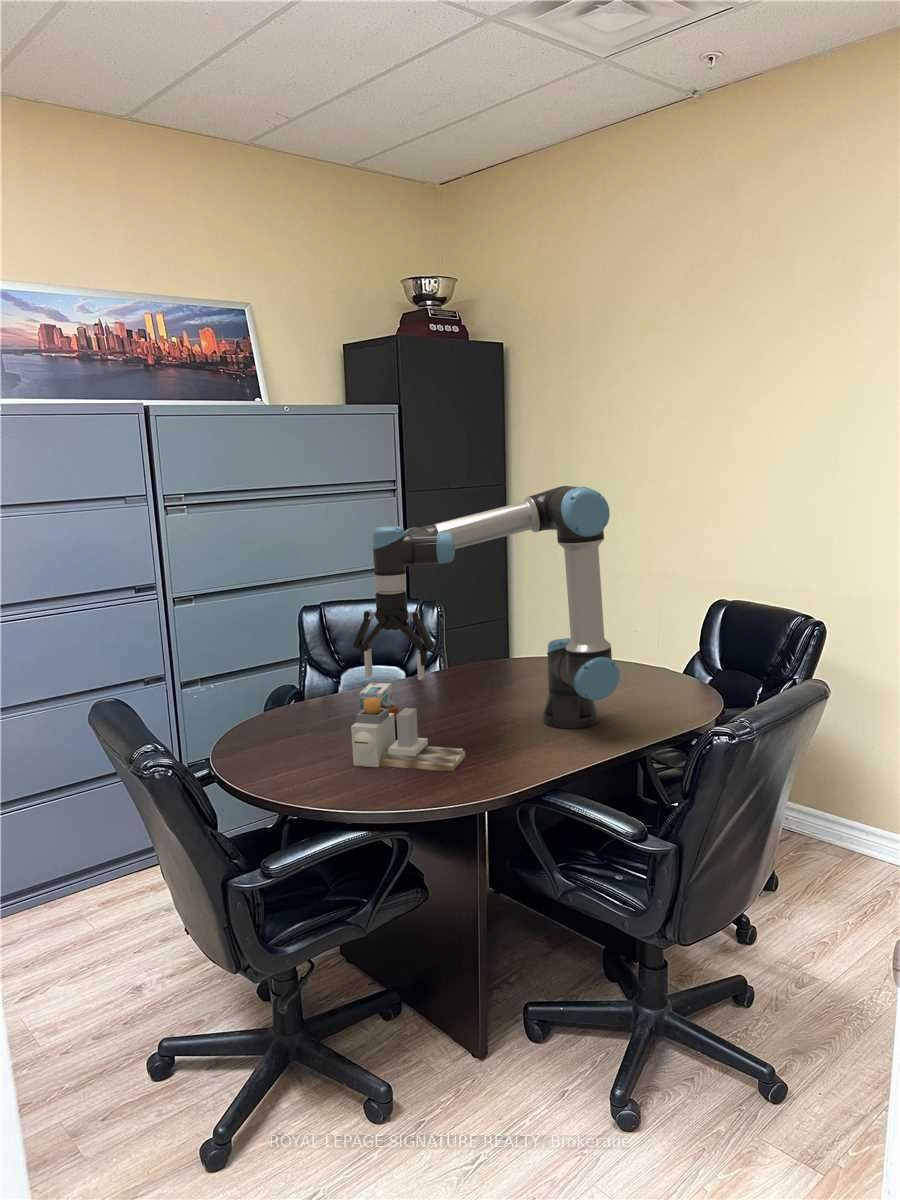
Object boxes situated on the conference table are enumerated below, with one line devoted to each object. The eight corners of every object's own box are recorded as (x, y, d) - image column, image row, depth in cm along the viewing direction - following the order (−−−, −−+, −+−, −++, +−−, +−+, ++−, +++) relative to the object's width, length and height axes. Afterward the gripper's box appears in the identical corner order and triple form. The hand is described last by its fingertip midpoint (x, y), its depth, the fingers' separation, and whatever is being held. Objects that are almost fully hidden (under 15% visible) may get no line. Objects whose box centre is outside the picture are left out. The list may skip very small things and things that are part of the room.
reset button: (383, 709, 228) (382, 697, 227) (376, 714, 224) (376, 702, 224) (368, 708, 229) (367, 697, 229) (361, 713, 225) (361, 701, 225)
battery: (387, 743, 240) (385, 706, 238) (372, 737, 245) (370, 701, 243) (400, 739, 242) (398, 703, 241) (386, 733, 248) (384, 698, 246)
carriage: (427, 743, 228) (426, 707, 227) (415, 755, 220) (413, 718, 218) (401, 742, 231) (399, 705, 229) (388, 754, 222) (386, 716, 221)
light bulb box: (384, 731, 250) (382, 692, 248) (360, 730, 252) (358, 692, 250) (394, 719, 261) (392, 682, 259) (371, 718, 262) (369, 682, 260)
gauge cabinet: (396, 751, 233) (393, 705, 231) (377, 768, 221) (374, 720, 219) (372, 749, 235) (369, 704, 233) (352, 766, 223) (349, 719, 221)
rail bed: (465, 757, 226) (464, 746, 226) (452, 771, 217) (452, 760, 217) (395, 752, 232) (395, 742, 232) (380, 766, 223) (380, 755, 222)
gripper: (445, 589, 219) (448, 675, 223) (349, 588, 227) (353, 671, 230) (435, 594, 212) (438, 683, 216) (336, 593, 219) (341, 678, 223)
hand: (394, 677), depth 223 cm, fingers open, 13 cm apart
